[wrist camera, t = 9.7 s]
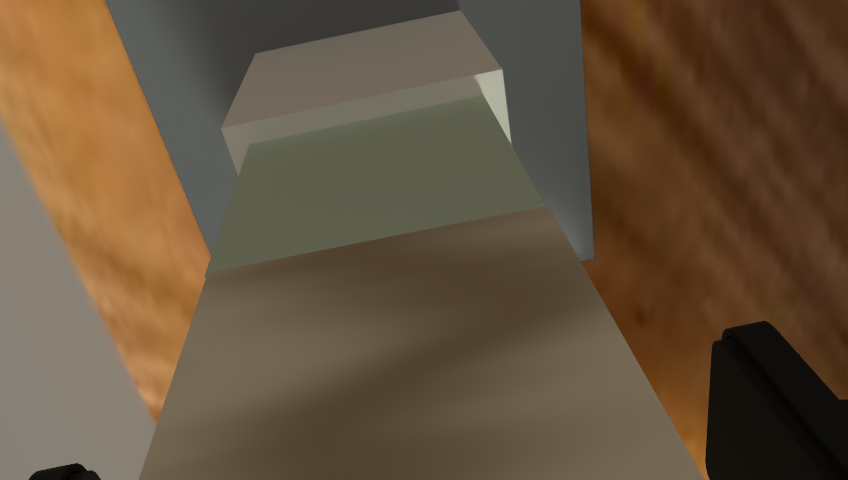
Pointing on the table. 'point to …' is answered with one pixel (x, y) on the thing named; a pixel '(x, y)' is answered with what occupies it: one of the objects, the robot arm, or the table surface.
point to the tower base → (362, 80)
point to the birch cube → (414, 367)
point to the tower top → (371, 183)
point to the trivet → (343, 14)
